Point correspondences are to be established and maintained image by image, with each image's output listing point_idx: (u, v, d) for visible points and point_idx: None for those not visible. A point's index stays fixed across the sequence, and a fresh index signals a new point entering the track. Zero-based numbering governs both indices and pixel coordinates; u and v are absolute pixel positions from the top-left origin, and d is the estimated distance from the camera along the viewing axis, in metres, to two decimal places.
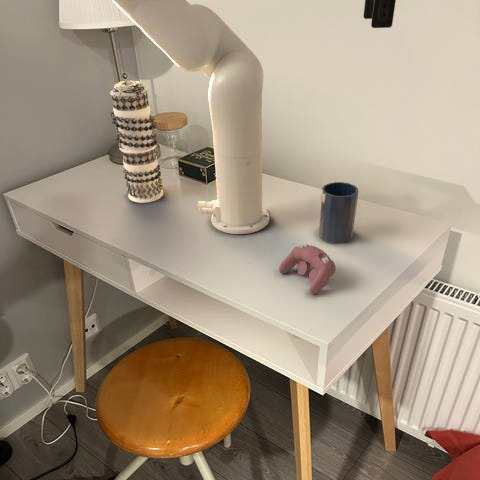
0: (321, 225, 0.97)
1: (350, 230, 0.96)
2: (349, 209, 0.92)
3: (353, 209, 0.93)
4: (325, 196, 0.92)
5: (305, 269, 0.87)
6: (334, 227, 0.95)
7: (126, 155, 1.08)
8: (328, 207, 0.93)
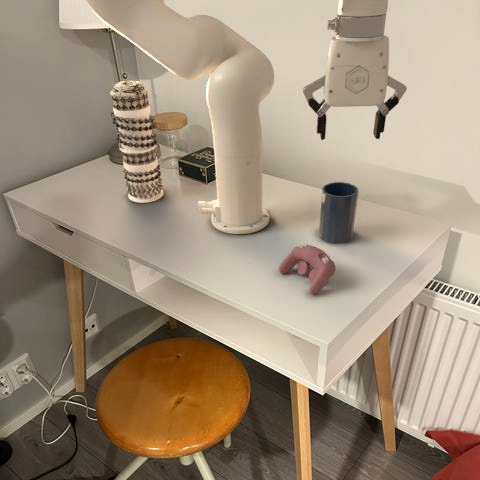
0: (321, 225, 0.97)
1: (350, 230, 0.96)
2: (349, 209, 0.92)
3: (353, 209, 0.93)
4: (325, 196, 0.92)
5: (305, 269, 0.87)
6: (334, 227, 0.95)
7: (126, 155, 1.08)
8: (328, 207, 0.93)
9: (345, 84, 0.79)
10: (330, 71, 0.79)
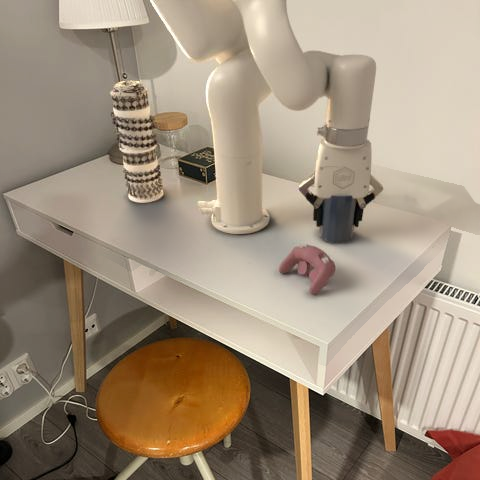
0: (321, 225, 0.97)
1: (350, 230, 0.96)
2: (349, 209, 0.92)
3: (353, 209, 0.93)
4: None
5: (305, 269, 0.87)
6: (334, 227, 0.95)
7: (126, 155, 1.08)
8: (328, 207, 0.93)
9: (332, 181, 0.89)
10: (319, 170, 0.88)
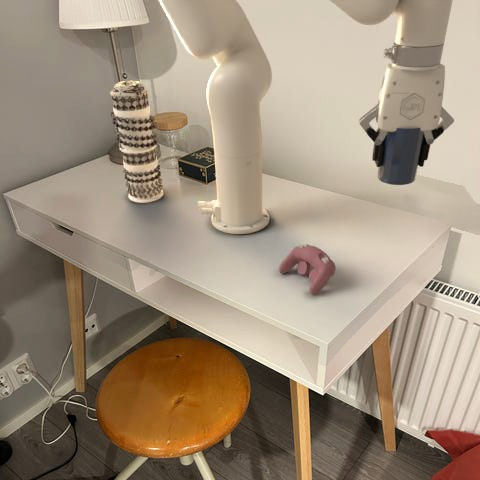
0: (382, 165, 0.88)
1: (415, 170, 0.87)
2: (416, 144, 0.84)
3: (420, 144, 0.85)
4: None
5: (305, 269, 0.87)
6: (398, 165, 0.86)
7: (126, 155, 1.08)
8: (392, 142, 0.84)
9: (400, 111, 0.81)
10: (385, 98, 0.80)
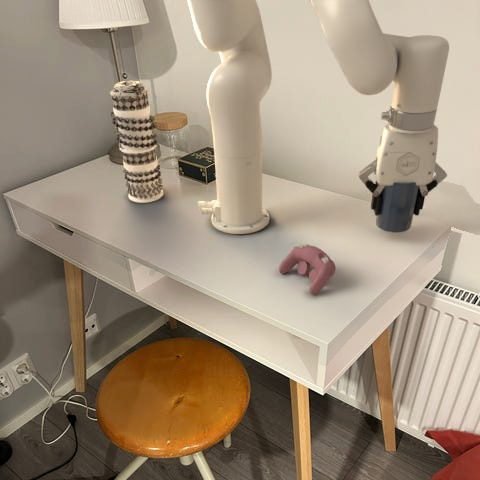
0: (380, 214, 0.94)
1: (410, 218, 0.93)
2: (411, 196, 0.90)
3: (415, 197, 0.91)
4: None
5: (305, 269, 0.87)
6: (395, 215, 0.92)
7: (126, 155, 1.08)
8: (390, 195, 0.90)
9: (396, 167, 0.87)
10: (383, 156, 0.86)
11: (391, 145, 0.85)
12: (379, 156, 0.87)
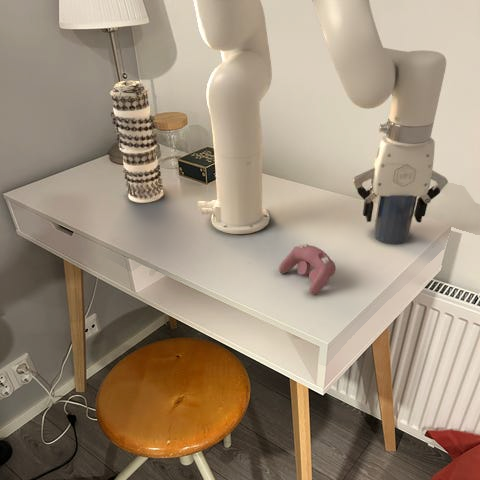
0: (378, 225, 0.96)
1: (407, 231, 0.95)
2: (409, 209, 0.92)
3: (412, 209, 0.92)
4: (384, 196, 0.91)
5: (305, 269, 0.87)
6: (392, 228, 0.94)
7: (126, 155, 1.08)
8: (387, 207, 0.92)
9: (393, 179, 0.88)
10: (380, 167, 0.87)
11: (388, 157, 0.86)
12: (376, 167, 0.88)
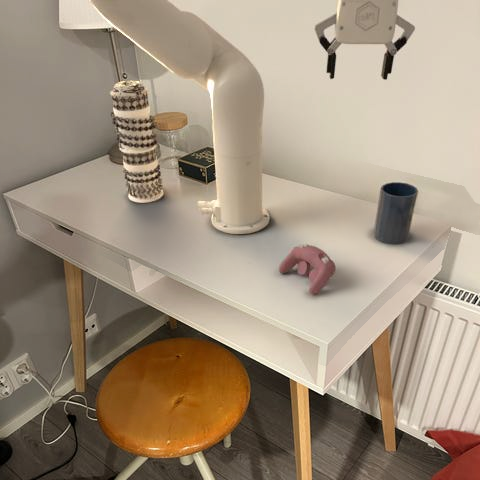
0: (378, 225, 0.96)
1: (407, 231, 0.95)
2: (409, 209, 0.92)
3: (412, 209, 0.92)
4: (384, 196, 0.91)
5: (305, 269, 0.87)
6: (392, 228, 0.94)
7: (126, 155, 1.08)
8: (387, 207, 0.92)
9: (355, 20, 0.82)
10: (341, 6, 0.82)
11: None
12: (338, 8, 0.83)
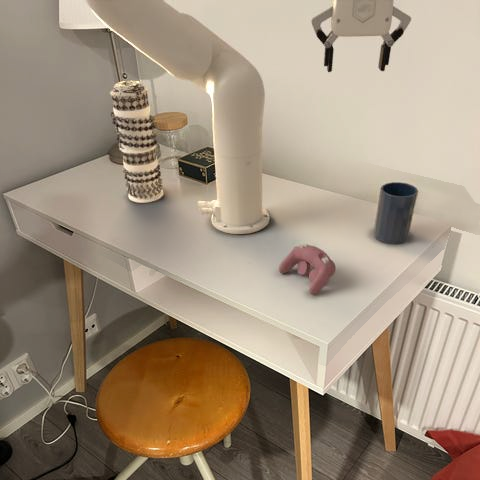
0: (378, 225, 0.96)
1: (407, 231, 0.95)
2: (409, 209, 0.92)
3: (412, 209, 0.92)
4: (384, 196, 0.91)
5: (305, 269, 0.87)
6: (392, 228, 0.94)
7: (126, 155, 1.08)
8: (387, 207, 0.92)
9: (352, 13, 0.83)
10: None
11: None
12: (334, 1, 0.83)
